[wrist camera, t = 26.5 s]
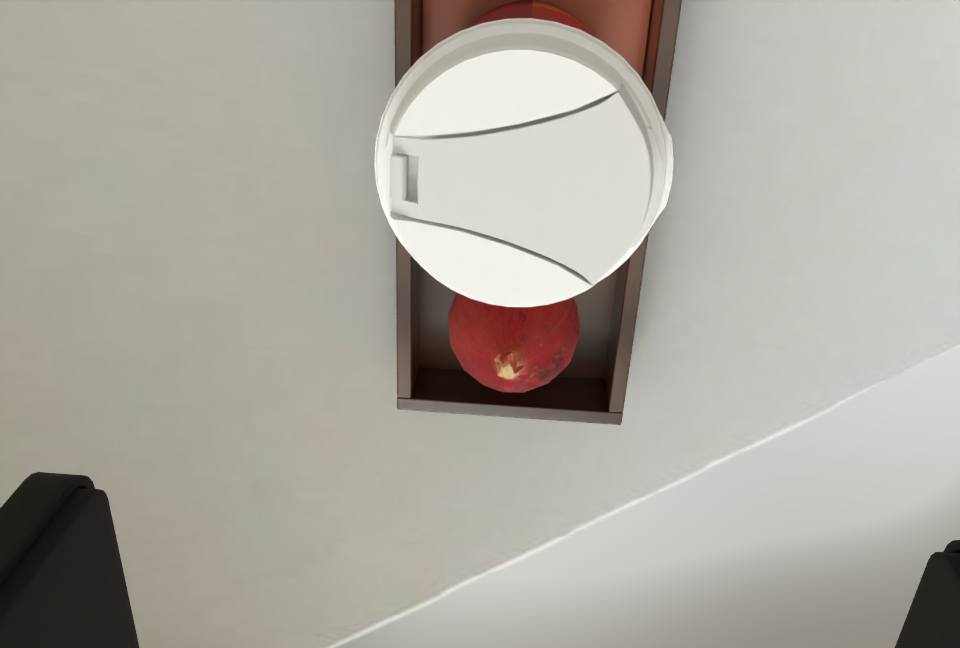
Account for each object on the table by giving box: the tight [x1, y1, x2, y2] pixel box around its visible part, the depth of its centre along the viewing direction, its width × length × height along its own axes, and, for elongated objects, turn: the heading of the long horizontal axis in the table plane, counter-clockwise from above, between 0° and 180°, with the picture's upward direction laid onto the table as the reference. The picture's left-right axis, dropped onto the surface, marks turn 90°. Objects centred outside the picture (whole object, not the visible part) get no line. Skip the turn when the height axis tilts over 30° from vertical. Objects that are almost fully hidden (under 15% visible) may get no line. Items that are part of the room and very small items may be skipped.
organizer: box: [395, 0, 682, 425], centre depth 37 cm, size 21×11×4 cm, turn 178°
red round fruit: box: [448, 292, 580, 393], centre depth 37 cm, size 6×6×8 cm
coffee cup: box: [374, 0, 674, 307], centre depth 29 cm, size 8×8×15 cm
